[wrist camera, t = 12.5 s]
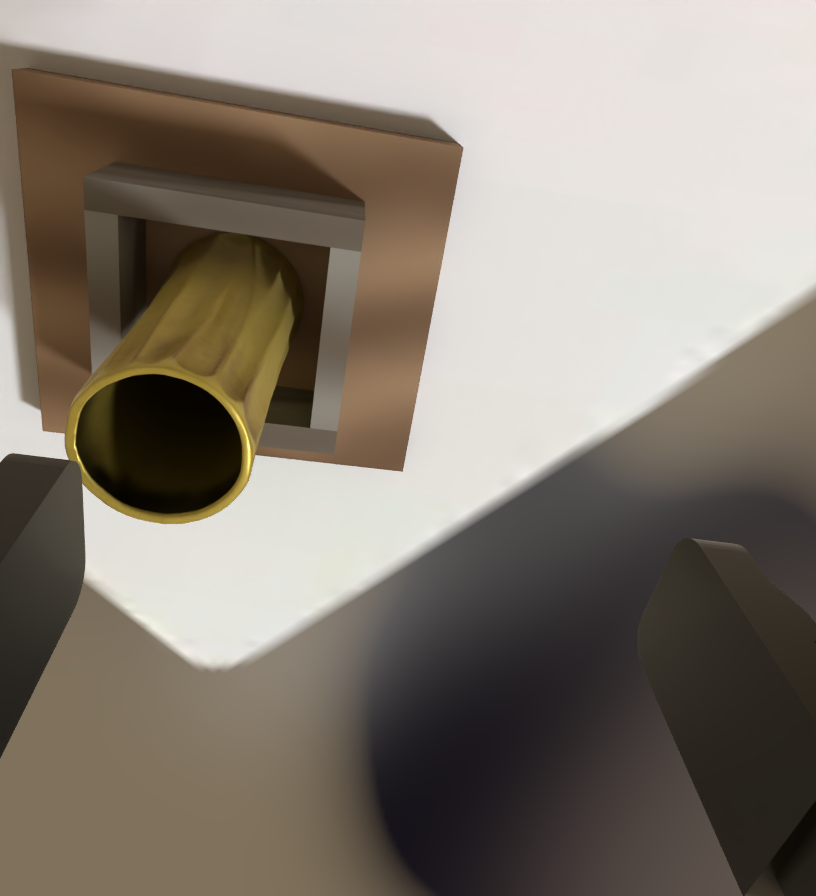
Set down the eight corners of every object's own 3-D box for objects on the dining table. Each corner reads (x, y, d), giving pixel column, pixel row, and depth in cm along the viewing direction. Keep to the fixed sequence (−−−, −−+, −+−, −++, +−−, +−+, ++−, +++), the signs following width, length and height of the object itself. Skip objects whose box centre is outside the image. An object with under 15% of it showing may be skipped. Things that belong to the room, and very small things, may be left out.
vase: (138, 288, 32) (-2, 437, 20) (238, 201, 31) (155, 303, 18) (234, 385, 35) (163, 571, 22) (330, 309, 33) (313, 463, 21)
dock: (27, 68, 29) (-38, 72, 24) (458, 143, 32) (476, 160, 27) (54, 417, 37) (8, 472, 32) (401, 457, 39) (406, 514, 34)
